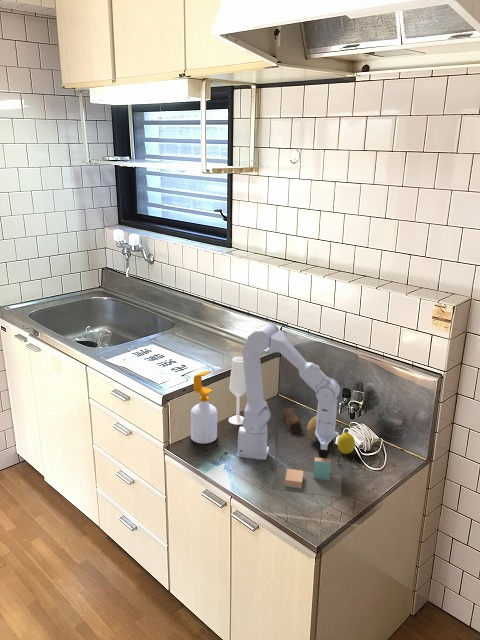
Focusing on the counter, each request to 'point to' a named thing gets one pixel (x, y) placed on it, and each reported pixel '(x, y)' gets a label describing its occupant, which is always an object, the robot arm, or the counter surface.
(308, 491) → the mat
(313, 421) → the brown round lump
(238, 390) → the champagne flute
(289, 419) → the brick
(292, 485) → the tile left
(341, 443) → the lemon
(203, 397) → the soap bottle
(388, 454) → the counter surface
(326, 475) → the tile right
